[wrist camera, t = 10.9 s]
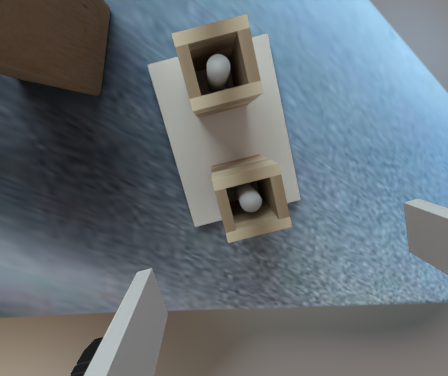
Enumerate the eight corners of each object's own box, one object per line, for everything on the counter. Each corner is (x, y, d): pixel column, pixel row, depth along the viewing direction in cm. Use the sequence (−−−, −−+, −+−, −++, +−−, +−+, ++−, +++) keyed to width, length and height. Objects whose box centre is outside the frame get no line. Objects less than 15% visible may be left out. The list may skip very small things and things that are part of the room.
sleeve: (223, 211, 34) (228, 243, 25) (211, 166, 33) (211, 180, 23) (268, 200, 34) (292, 226, 25) (258, 154, 33) (278, 163, 23)
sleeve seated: (198, 117, 32) (192, 111, 22) (184, 65, 31) (171, 33, 21) (247, 105, 32) (263, 93, 22) (235, 51, 31) (246, 13, 21)
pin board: (195, 222, 37) (189, 259, 26) (151, 68, 32) (121, 37, 22) (295, 196, 37) (331, 222, 26) (263, 39, 32) (290, -7, 22)
